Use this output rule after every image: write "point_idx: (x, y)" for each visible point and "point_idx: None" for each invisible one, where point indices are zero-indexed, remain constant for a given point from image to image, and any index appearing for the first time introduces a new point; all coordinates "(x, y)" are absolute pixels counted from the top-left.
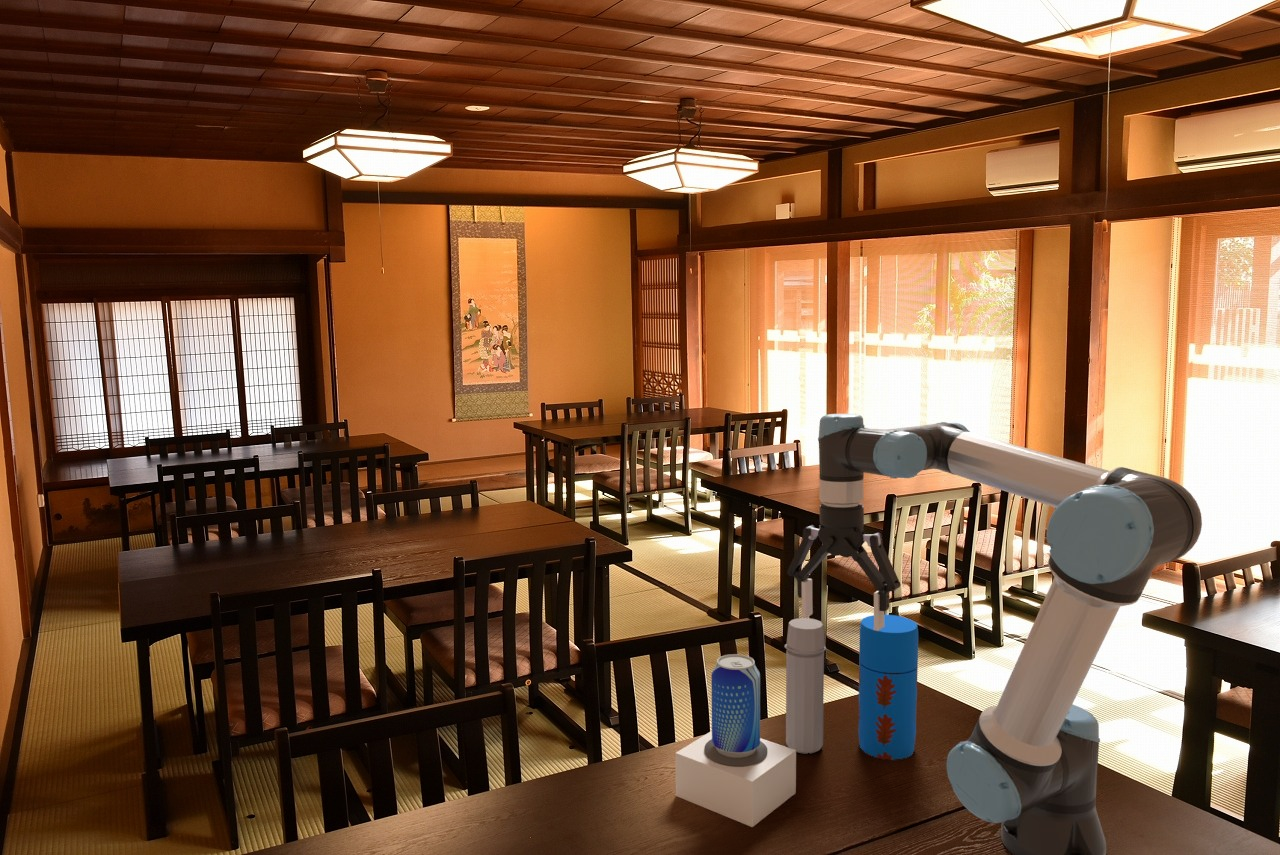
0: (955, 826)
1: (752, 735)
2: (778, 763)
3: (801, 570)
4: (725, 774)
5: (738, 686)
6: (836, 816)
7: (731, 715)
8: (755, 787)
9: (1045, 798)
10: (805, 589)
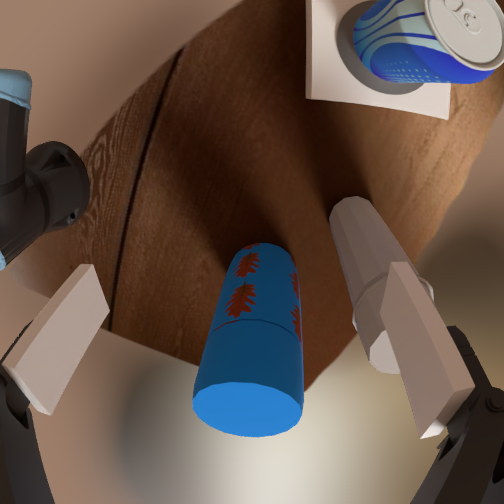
0: (120, 153)
1: (360, 23)
2: (312, 46)
3: (497, 448)
4: None
5: None
6: (232, 79)
7: None
8: None
9: None
10: (439, 358)
